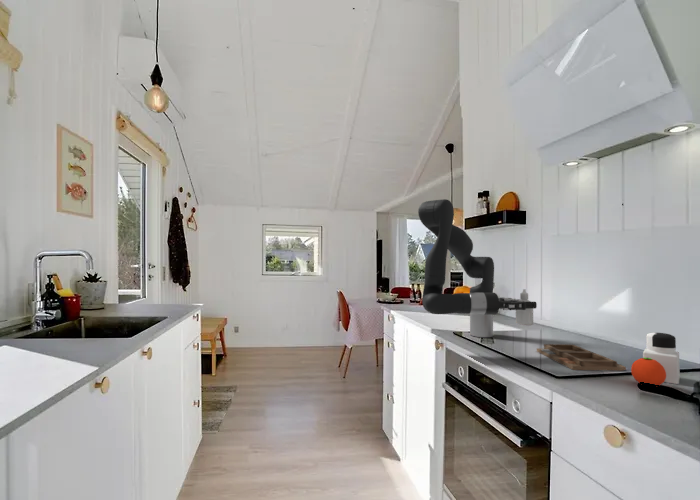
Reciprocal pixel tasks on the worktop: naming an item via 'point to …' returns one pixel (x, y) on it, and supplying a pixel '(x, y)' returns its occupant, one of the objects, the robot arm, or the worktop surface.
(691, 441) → the worktop surface
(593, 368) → the wooden compartment tray
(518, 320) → the eye dropper bottle
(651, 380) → the clementine
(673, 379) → the medicine bottle
